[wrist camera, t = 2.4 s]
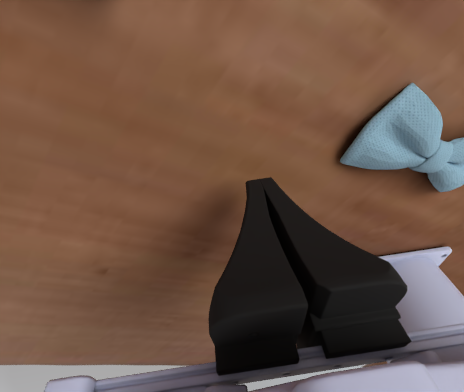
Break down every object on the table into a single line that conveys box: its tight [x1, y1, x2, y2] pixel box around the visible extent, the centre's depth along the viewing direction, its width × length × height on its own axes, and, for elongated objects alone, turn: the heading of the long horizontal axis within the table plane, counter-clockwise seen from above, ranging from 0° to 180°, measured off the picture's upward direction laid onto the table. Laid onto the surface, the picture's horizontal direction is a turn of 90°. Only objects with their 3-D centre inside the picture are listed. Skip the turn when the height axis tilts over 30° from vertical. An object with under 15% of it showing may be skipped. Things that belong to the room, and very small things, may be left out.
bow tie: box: [340, 83, 464, 192], centre depth 14 cm, size 10×2×5 cm
